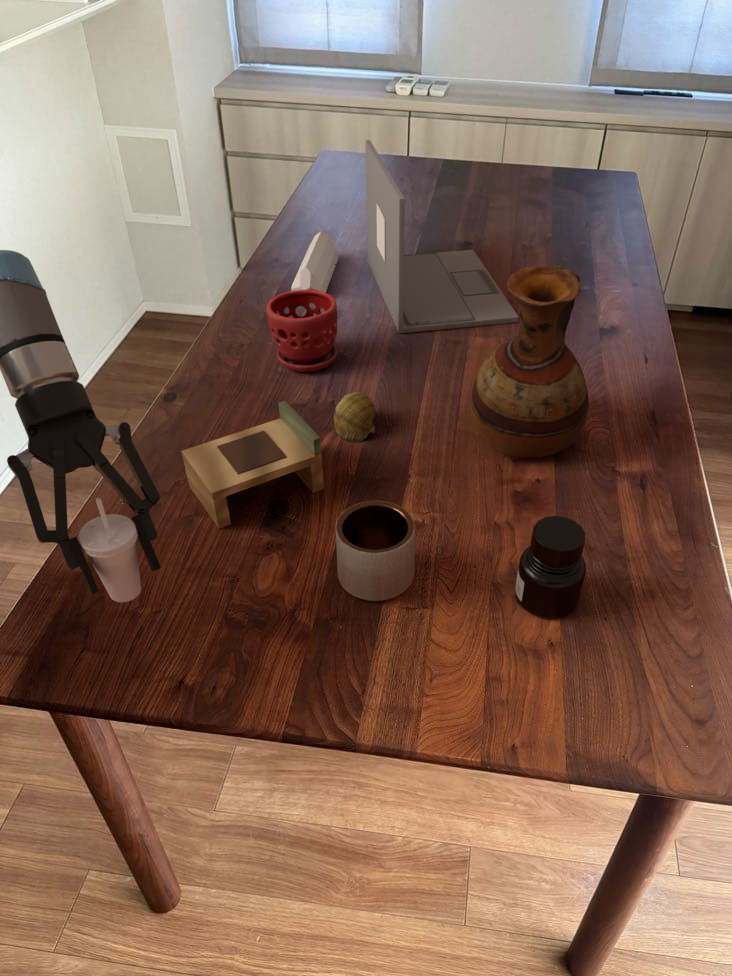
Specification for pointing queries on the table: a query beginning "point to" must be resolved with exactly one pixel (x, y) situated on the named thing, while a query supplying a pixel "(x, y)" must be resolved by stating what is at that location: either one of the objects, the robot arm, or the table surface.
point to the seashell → (354, 417)
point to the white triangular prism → (317, 265)
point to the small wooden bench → (253, 461)
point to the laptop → (424, 268)
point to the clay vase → (533, 371)
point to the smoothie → (113, 553)
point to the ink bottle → (552, 568)
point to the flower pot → (304, 329)
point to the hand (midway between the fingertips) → (126, 580)
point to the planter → (375, 550)
